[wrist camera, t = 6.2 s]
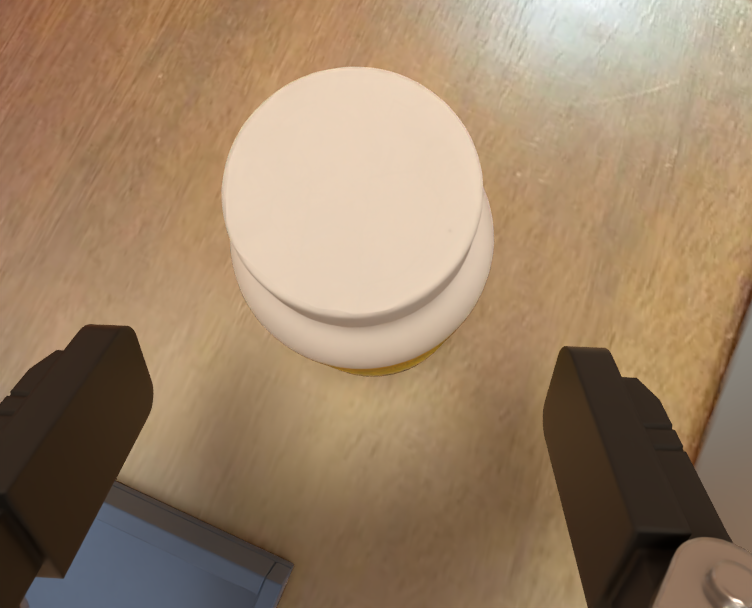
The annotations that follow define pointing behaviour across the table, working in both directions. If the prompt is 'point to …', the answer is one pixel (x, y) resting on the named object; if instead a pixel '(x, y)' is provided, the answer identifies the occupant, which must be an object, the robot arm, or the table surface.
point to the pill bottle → (358, 219)
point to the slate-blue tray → (161, 563)
